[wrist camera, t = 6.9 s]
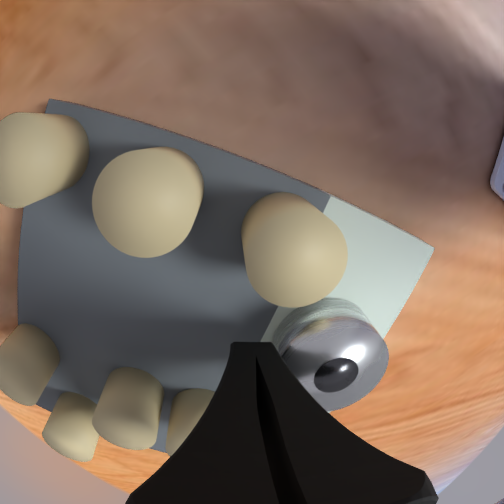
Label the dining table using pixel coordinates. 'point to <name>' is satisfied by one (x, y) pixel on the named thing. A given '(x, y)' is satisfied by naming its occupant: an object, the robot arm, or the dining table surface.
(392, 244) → the board
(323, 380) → the steel nut
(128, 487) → the dining table surface
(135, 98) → the dining table surface
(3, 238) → the dining table surface
